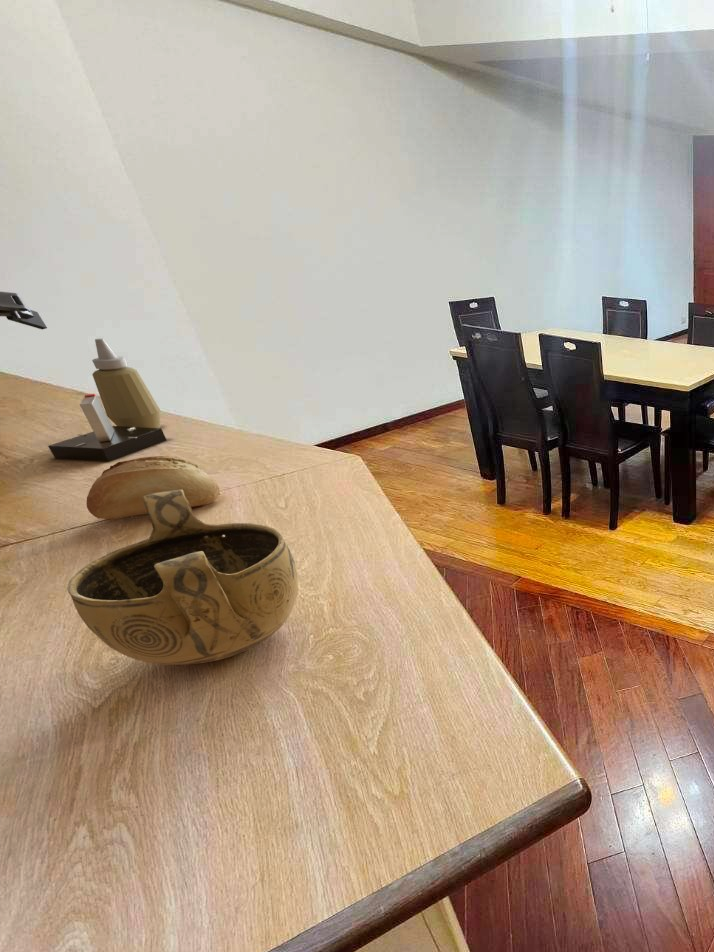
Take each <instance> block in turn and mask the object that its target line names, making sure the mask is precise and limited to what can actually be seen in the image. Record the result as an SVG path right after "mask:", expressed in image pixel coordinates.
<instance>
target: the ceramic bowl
mask: <svg viewBox="0 0 714 952" xmlns="http://www.w3.org/2000/svg"><path fill="white" fill-rule="evenodd" d="M142 499H143V501H144V504H145V507H146V510H147V512H148V513H147V515H148V517H149V520H150V523H151V527H152V531H151V533H150V534H149V535H150V536H149V537H148V538H146V539H144V540H141V541H137V542H135V543H132V544H129V545H126V546H124V547H121V548H118V549H116V550H114V551H111V552H108V553H107V554H105V555H103V556H101V557H99V558H97V559H94V560H92V561H91V562H89V563H88V564H86V565H85V566H83V567H82V568H81V569H79V571H78V572H76V573H75V574H74V575H73V576H72V577H71V578H70V580H69V581H68V583H67V587H66V588H67V592H68V594H69V596H70V597H71V600H72V603H73V605H74V607H75V610H76V611H77V613H78V615H79V617H80V618H81V620H82V621H83V623H84V624H85V625H86V626H87V629H89V630H90V631H91V632H92V633H93V634H94V635H95V636H96V637H97V638H98V639H99V640H100V641H101V642H103V643H104V644H105V645H106V646H108V647H109V648H110V649H112V650H113V651H116V652H118V653H120V654H122V655H124V656H126V657H128V658H131V659H133V660H136V661H139V662H145V663H149V664H155V665H166V666H167V665H168V666H189V665H196V664H204V663H210V662H215V661H221V660H224V659H227V658H232V657H234V656H237V655H239V654H241V653H244V652H246V651H248V650H249V651H250V650H251V649H253V648H254V647H256V646H258V645H260V644H262V643H263V642H265V641H266V640H267V639H269V638H270V637H271V636H272V635H274V634H275V633H276V632H277V631H278V630H279V629H280V628H282V626H284V624H285V623H286V622H287V620H288V618H289V617H290V615H291V613H292V611H293V609H294V607H295V604H296V602H297V597H298V592H299V581H298V580H299V577H298V571H297V567H296V562H295V559H294V556H293V553H292V551H291V550H290V547H289V546H288V544H287V542H286V541H285V539H284V536H283V535H282V534H281V532H280V531H278V530H277V529H275V528H273V527H272V526H268V525H264V524H259V523H250V522H248V523H247V522H246V523H245V522H231V523H228V522H227V523H221V524H212V523H206V522H204V521H201V520H200V519H199V518H197V516H196V515H195V512H194V510H193V509H192V507H191V506H190V504H189V501H188V500H187V498H186V496H185V494H184V491H183V490H173V491H167V492H160V493H154V494H150V495H147V496H144V497H143V498H142Z"/></svg>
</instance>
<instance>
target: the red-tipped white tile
mask: <svg viewBox="0 0 714 952" xmlns="http://www.w3.org/2000/svg"><path fill="white" fill-rule="evenodd" d="M79 407H80V408H81V410H82V412H83V415H84V416H85V418H86V420H87V422H88V424H89V426H90V428H91V430H92V432H94V433H95V435H96V437H97V439H98V441H99V442H104V441H111V438H112V436H113V433H114V429H113V427H112V426H113V425H112V422H111V420H110V419H109V418H108V416H107V414H106V411H105V409H104V406H103V404H102V402H101V400H100V399H99V396H98V395H97V394H95V393H86V394H84V397H83V398H82V400H81V402H80V403H79Z"/></svg>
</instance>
